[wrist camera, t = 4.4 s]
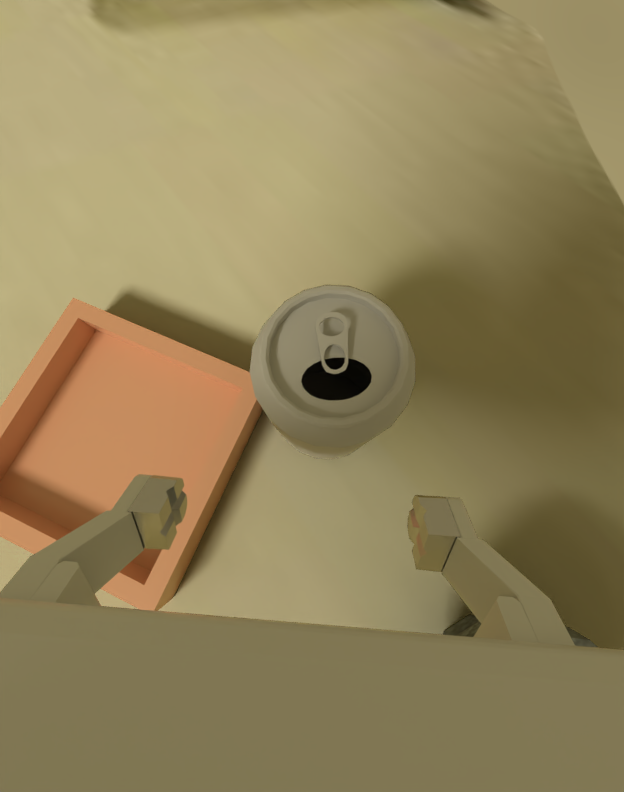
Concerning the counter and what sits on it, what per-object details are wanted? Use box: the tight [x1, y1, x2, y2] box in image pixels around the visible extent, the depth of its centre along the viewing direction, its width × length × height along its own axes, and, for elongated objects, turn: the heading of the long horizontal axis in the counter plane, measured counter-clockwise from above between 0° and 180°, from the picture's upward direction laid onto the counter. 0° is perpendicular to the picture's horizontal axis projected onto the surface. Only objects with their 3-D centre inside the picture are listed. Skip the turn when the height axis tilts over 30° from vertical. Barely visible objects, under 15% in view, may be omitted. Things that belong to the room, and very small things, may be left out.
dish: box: [0, 298, 263, 611], centre depth 23 cm, size 15×15×3 cm
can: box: [250, 285, 415, 459], centre depth 19 cm, size 8×8×12 cm
